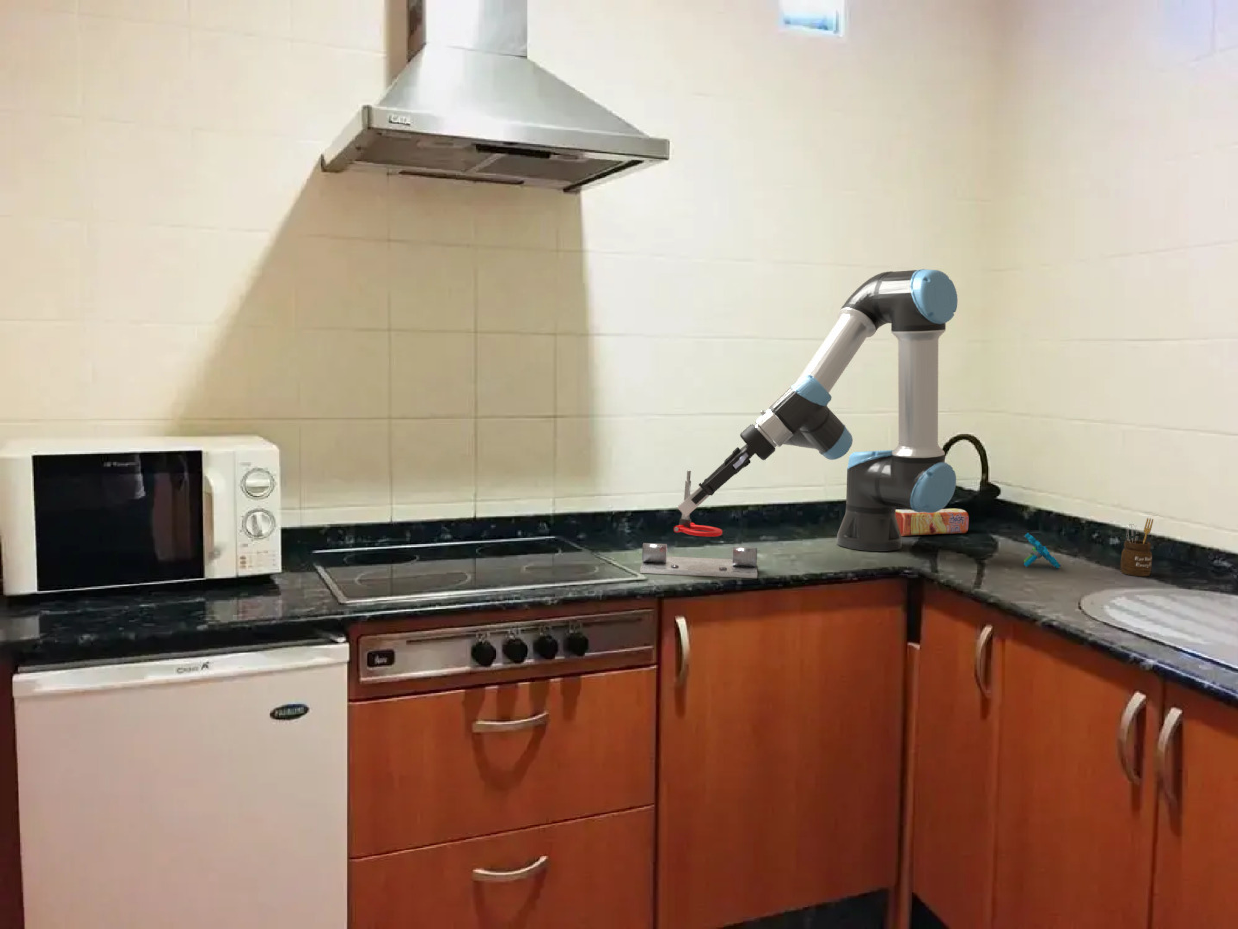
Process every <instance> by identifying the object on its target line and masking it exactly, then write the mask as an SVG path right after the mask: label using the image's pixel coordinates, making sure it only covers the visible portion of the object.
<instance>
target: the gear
mask: <svg viewBox="0 0 1238 929" xmlns="http://www.w3.org/2000/svg"><path fill="white" fill-rule="evenodd" d="M1024 538H1025V539H1026V540H1027V541H1028V543H1029V544H1030V545H1031V546H1033V547H1032V548H1031V551H1030V554H1029V555H1028V556H1027V557H1026V558H1025V559H1023V562H1024V563H1023V565H1024V566H1025V567H1026V568H1028V567H1029V566H1030V565H1031V564H1033V562H1035V561H1036V560H1040V559H1041V558H1042V557H1043V558H1044V559H1045V560H1046V561H1048V563H1050V565H1051V566H1053V567H1054V568H1056V569H1059V568H1060V567H1061V564H1060V563H1059V561H1058V560H1057V559H1056V557H1054V556H1052V555H1051V554H1050V553H1051V552H1050V551H1049V550H1048V548H1047V547H1046V546H1045V545H1044V546H1043V545H1042V543H1041V542H1040V541H1039V540H1037V539H1036V538H1035V537H1034V536H1033V535H1031V534H1030V533H1029V532H1027V533H1026V534H1024Z"/></svg>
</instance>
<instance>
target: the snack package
mask: <svg viewBox="0 0 1238 929" xmlns="http://www.w3.org/2000/svg"><path fill="white" fill-rule="evenodd" d="M969 517H970V516H969V513H968V512H967V511H966V510H965V509H962V508H942V509H941V510H939V511H937V512H934V513H927V512H915V511H913V510H908V509H896V519H897V523H898V527H899V530H900V534H901V537H908V536H909V537H910V536H928V535H946V534H947V535H948V534H949V535H950V534H951V535H953V534H966V533H967V532H968V530H969V523H970V522H969V521H970V520H969V519H970V518H969Z"/></svg>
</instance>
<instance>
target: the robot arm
mask: <svg viewBox="0 0 1238 929" xmlns="http://www.w3.org/2000/svg"><path fill="white" fill-rule="evenodd" d="M957 292H958V291H957V288H956V286H955V284H954V281H952V279H951V278H949V276H948V275H947V274H946V273H945V272H943V271H941V270H939V269H925V268H922V269H912V270H899V271H898V270H897V271H884V272H880V273H877V274H875V275H873V276H872V277H870V278H868V279H867V280H866V281H864V283H862V284H861V285H860V286H859V287H858V288H856V290H855V291H853V293H852V294H851V295H850V296H849V297H848V298H847V299H846V301H845V302H844V304H842V306H841V308H840V309H839V311H838V312H837V318H838V320H837V322H836V323H835V324H834V325H833V327H832V328H831V330H830V331H829V333H828V334H827V336H826V337H825V339H824V340H823V342H821V344H820V346H819V348H818V349H817V350H816V352H814V355H813V356H812V357H811V359H810V360H809V362H808V363H807V365H806V366H805V368H804V369H803V371H802V372H801V374H800V375H799V376H798V378H797V380H796V381H795V382H794V383H793V384H791V386H790V388H788V389H787V390H786V391H785V392H784V393H783V394H782V395H781V396H780V397H779V398H778V399H777V400H776V401H775V402H773V403H772V404H771V406H769V407H768V408H767V409H766V410H764V409H762V410H760V412H759V413H760V416H758V417H757V418H756V419H755V422H754V423H755V424H754V423H752V424H751V423H750V424H749V425H748V426H747V427H746V428H745V429H744V430H743V431H741V432H740V434H739V436H740V438H741V440H743V442H744V443H745V444H744V445H743V446H742V447H741V448H739V447H738V446H737V447H736V448H735V449H734V450H733V451H732V452H731V454H730V455H729V456H728V457H727V458H725V459H724V462H723V463H721V465H719V466H718V467H717V469H715V470H713V472H711V474H710V475H708V477H707V478H705V479H704V480H703V481H702V482H700V483H698V487H696V488H695V489H694V491H692V492H690V496H689V497H688V498H687V499H686V500H685V501H684V499H683V500H682V501H681V502H680V503H679V504H678V505H677V507H676V508H677V509H678V510H679V512H680V513H681V514H682V513H683V514H684V515H685V516H686V517H687V516H688V515H689V514H691V513H692V512H693V511H694V510H696V509H697V508H698V507H699V506H700V505H701V504H702V503H704V502H705V500H707V499H708V498H709V497H710V496H713V495H714V494H715V492H716V491H718V490H719V489H720V488H721V487H723V485H724V484H726V483H727V482H728V481H729V480H731V478H732V477H734V476H736V475H737V474H738V473H739V472H740V471H741V470H742V469H744V468H746V467H748V466H749V464H751V463H752V462H751V458H752V457H753V456H754V455H756V456H757V457H758V458H759V459H760V460H762V461H766V459H768V458H770V457H771V455H772V454H774V453H775V452H776V448H777V447H778V448H780V447H782V446H783V445H784V446H785V445H786V446H795V447H799V448H800V447H801V448H807V449H814V450H816V451H818V452H819V454H820V455H822V456H823V457H824V458H825V459H827V460H830V461H833V460H838V459H841V458H842V457H844V456H845V455H846V454H847V453H848V452H849V450H850V449H851V447H852V445H853V435H852V433H851V432H850V431H849V430H848V428H847V427H846V425H845V424H844V423H843V422H842V420H840V419H839V418H838V417H837V416H836V414H835V413H834V412H833V411H832V410H831V409H830V408H829V407H828V404H829V403H830V402H831V400H832V395H831V394H830V392H831V390H832V389H833V388H834V387H835V385H836V383H837V381H838V380H839V379H840V377H841V376H842V374H843V373H844V371H845V370H846V368H847V367H848V365H849V364H850V362H851V361H852V359H853V358H854V357H855V355H856V354H857V352H858V351H859V349H860V348H861V346H862V345H863V344H864V342H865V341H866V339H867V338H871V337H873V336H874V335H875V334H876V332H877V331H878V329H879V328H881V327H883V326H884V325H886V324H890V326H891V329H890V332H891V333H890V334H892V335H893V336H894V337H895V338H896V339H897V342H898V346H897V348H898V349H897V350H898V353H897V354H898V359H897V360H898V363H897V364H898V373H897V374H898V379H897V380H898V382H897V383H898V388H897V389H898V444H897V446H896V447H895V448H894V449H887V450H886V449H885V450H884V449H883V450H869V451H867V450H866V451H854V452H851V454H850V455H849V456H848V462H847V463H848V464H847V468H846V496H845V497H846V500H845V502H846V503H845V504H846V505H845V514H844V516H843V518H842V521H841V524H840V527H839V529H838V532H837V534H836V544H837V545H838V546H840V547H843V548H845V549H846V548H847V549H851V550H852V549H853V550H858V551H865V552H866V551H867V552H891V551H897V550H901V548H902V543H903V542H902V541H903V540H902V536H901V534H900V530H899V527H898V523H897V519H896V510H897V508H898V509H899V508H900V509H902V510H913V511H915V512H927V513H934V512H937V511H939V510H941V509H945V508H946V506H947V505H948V504H949V501H951V499H952V498H953V496H954V493H955V490H956V486H957V475H956V472H955V470H954V468H953V467H952V465H950V464H949V463H947V462H946V453H945V451H944V450H943V449H942V448H941V447H940V446H939V339H940V337H941V336H942V335H943V334H944V333H946V331H947V330H946V324H947V323H948V322H950V321H951V320H952V319H953V318H954V316H955V313H956V312H957V308H958V300H959V299H958V293H957Z"/></svg>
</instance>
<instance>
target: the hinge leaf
mask: <svg viewBox="0 0 1238 929" xmlns="http://www.w3.org/2000/svg"><path fill="white" fill-rule="evenodd" d="M641 550H642V553H641V555H642V556H641V560H642V563H641V566H640V568H639V571H640V572H639V573H640V574H650V575H651V574H653V575H655V574H656V575H658V574H659V575H677V576H696V577H697V576H701V577H723V578H724V577H725V578H742V579H743V578H746V579H747V578H749V579H757V578H758V570H757V565H758V561H757V560H758V547H745V546H733V547H732V558H711V557H710V558H709V557H687V556H669V555H668V544H667V543H650V542H649V543H648V542H643V544H642V549H641Z"/></svg>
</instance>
